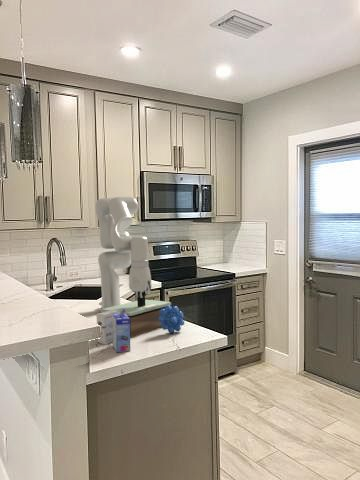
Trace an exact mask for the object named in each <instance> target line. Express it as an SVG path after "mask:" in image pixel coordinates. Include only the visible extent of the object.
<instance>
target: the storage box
mask: <svg viewBox="0 0 360 480" xmlns="http://www.w3.org/2000/svg"><path fill="white" fill-rule="evenodd" d="M161 309H165V307H162V308H158V309H154V310H151V311H147V312H143V313H140V314H136V315H132V316H128V317H129V318H130V339H131V338H133V337H134V338H135V337H138V336H140V335H143V334H146V333H150V332H152V331H155V330H159V329H162V327H161V324H162V323H160V322H159V320H158V317H159V316H162V315H160V310H161ZM158 328H159V329H158Z"/></svg>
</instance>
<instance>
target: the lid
mask: <svg viewBox="0 0 360 480" xmlns="http://www.w3.org/2000/svg"><path fill="white" fill-rule="evenodd" d="M166 305H170V306H172V302H171V301H165V300H164V301H163V300H153V299H145V306H142V307H138V302H137V300H135V301H130V302H126V303H122V304H121V303H120V305H117V306H113V307H109V308H105V309H102V312H106V311H109V310H119V311H120V314H121V312H122V311H123V309H125V313H126V315H127V316H132V315H136V314H140V313H143V312H147V311H151V310H154V309H158V308H162V307H165V306H166ZM102 312H101V313H102ZM123 313H124V311H123Z"/></svg>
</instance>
